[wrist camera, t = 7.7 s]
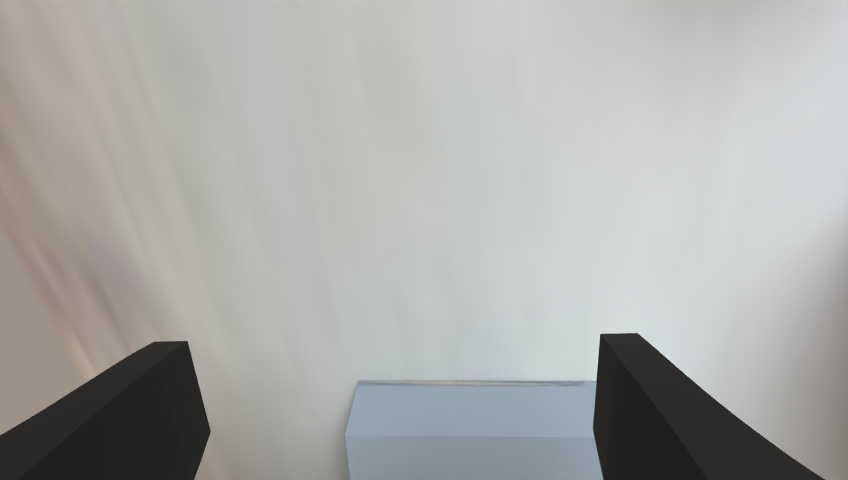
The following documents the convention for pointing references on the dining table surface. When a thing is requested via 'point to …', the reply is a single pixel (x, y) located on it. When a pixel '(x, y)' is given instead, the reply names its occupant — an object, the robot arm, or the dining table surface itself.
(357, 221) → the dining table surface
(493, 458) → the socket block
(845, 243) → the dining table surface
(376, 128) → the dining table surface
